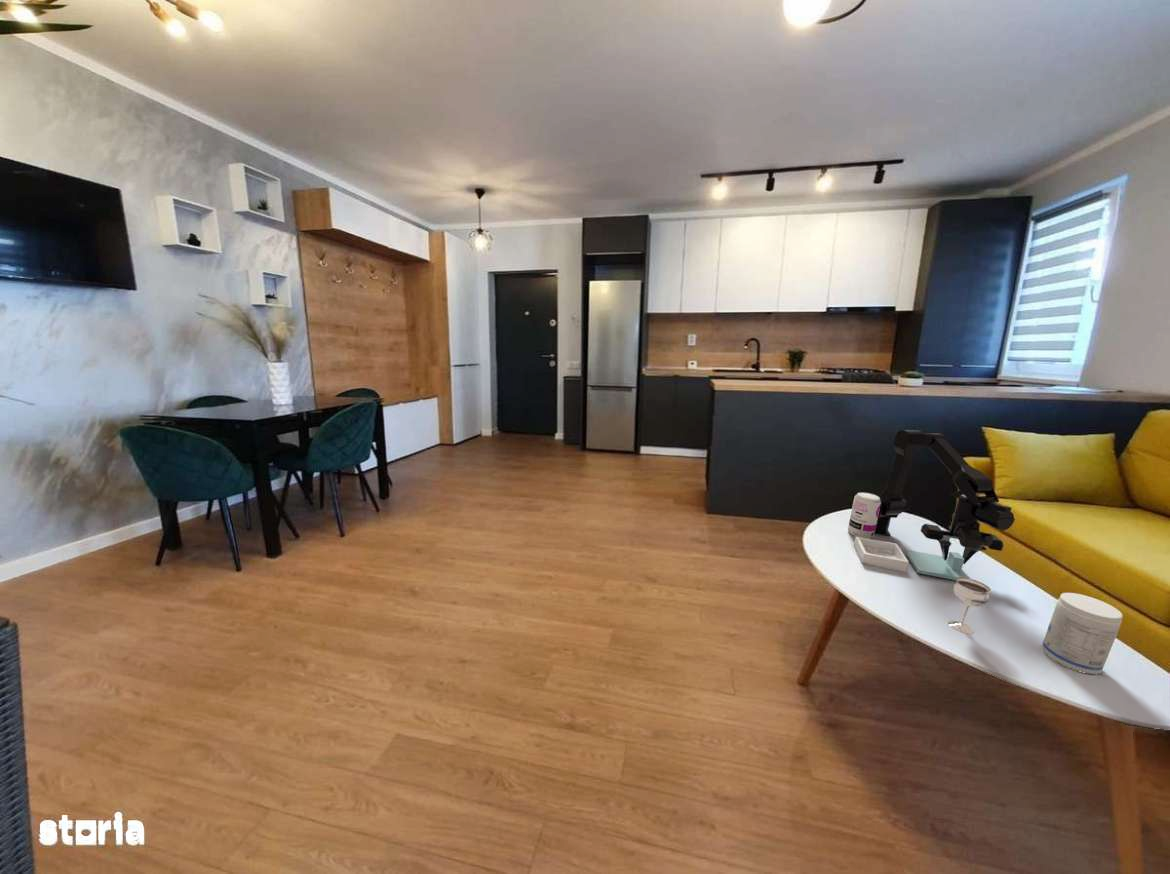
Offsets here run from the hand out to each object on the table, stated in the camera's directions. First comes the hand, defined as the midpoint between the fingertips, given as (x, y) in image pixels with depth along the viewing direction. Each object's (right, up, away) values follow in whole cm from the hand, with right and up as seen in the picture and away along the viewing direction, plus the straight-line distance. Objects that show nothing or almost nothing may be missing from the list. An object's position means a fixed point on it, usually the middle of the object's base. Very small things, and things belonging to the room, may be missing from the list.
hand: (953, 561), depth 135 cm
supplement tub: (-3, -13, -35) cm, 38 cm away
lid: (-4, -2, +2) cm, 5 cm away
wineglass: (-20, -9, -25) cm, 33 cm away
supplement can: (-14, +3, +25) cm, 28 cm away
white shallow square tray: (-18, -1, +8) cm, 20 cm away
